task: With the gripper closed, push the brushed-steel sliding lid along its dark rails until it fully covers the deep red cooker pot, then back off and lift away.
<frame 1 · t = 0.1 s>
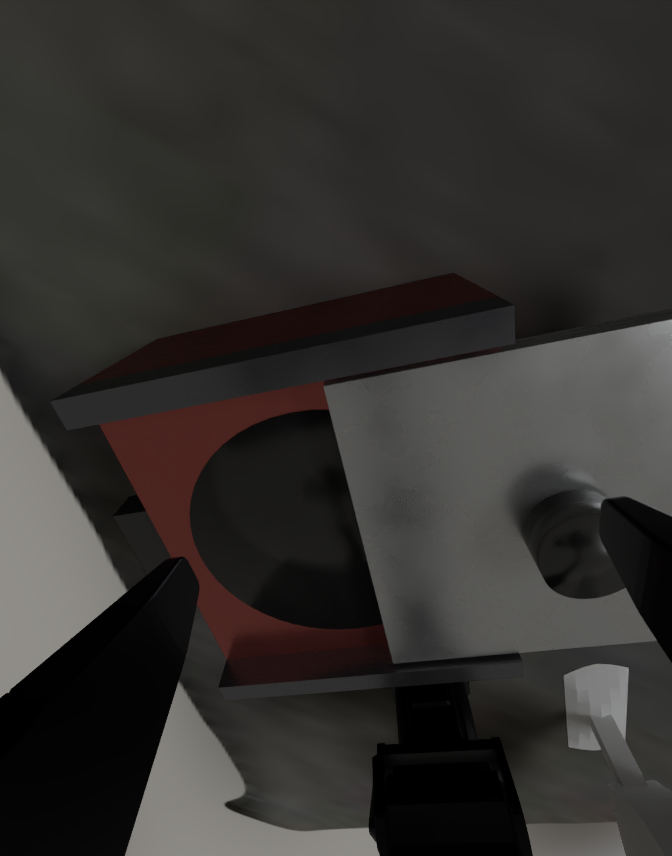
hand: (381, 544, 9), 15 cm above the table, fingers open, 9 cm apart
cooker: (336, 458, 25), on the table
heart sculpture: (594, 708, 36), on the table
lid: (578, 516, 16), point 8 cm above the table, slide at 10.0 cm
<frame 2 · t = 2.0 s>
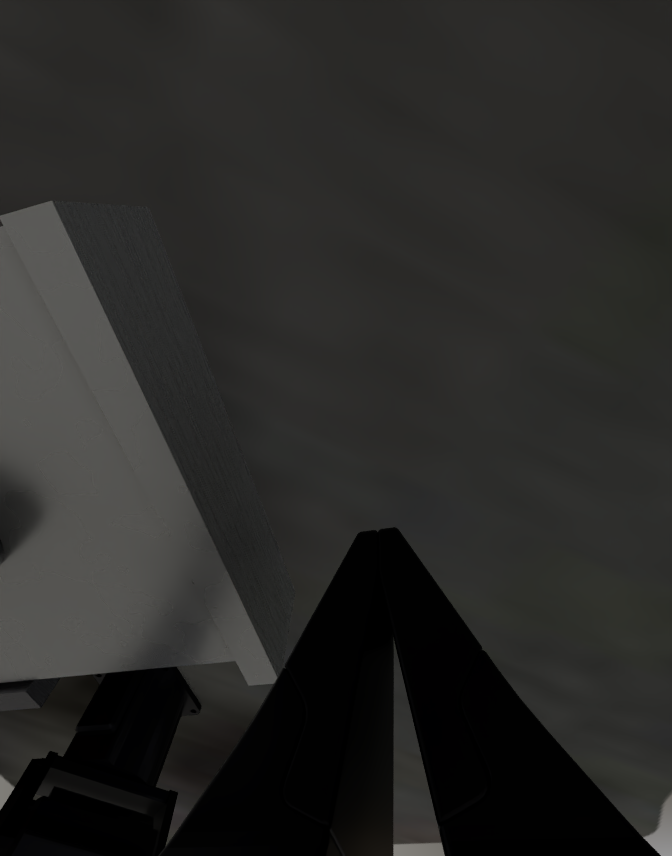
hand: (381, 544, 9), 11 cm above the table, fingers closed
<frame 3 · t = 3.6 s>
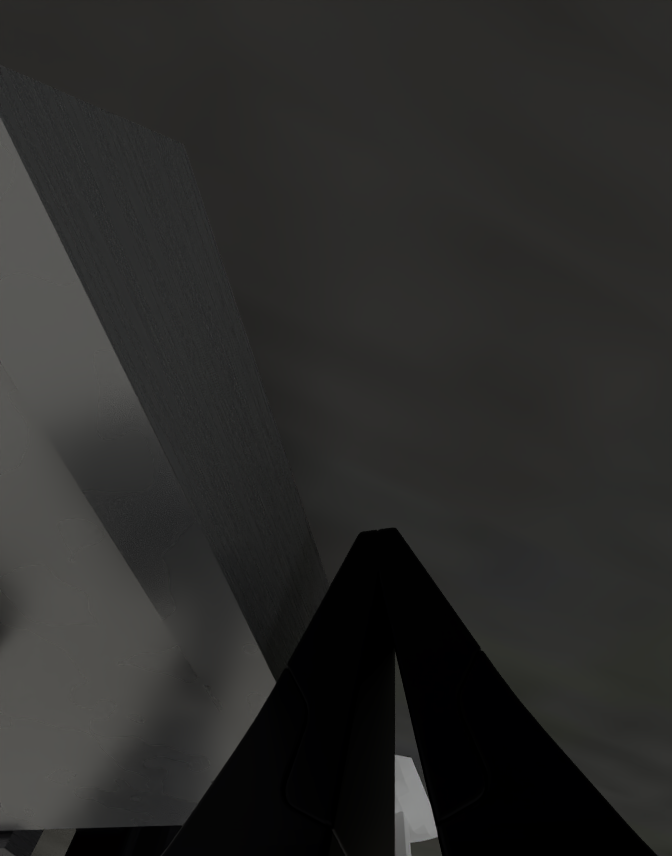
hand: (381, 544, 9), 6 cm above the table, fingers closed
heart sculpture: (392, 798, 28), on the table
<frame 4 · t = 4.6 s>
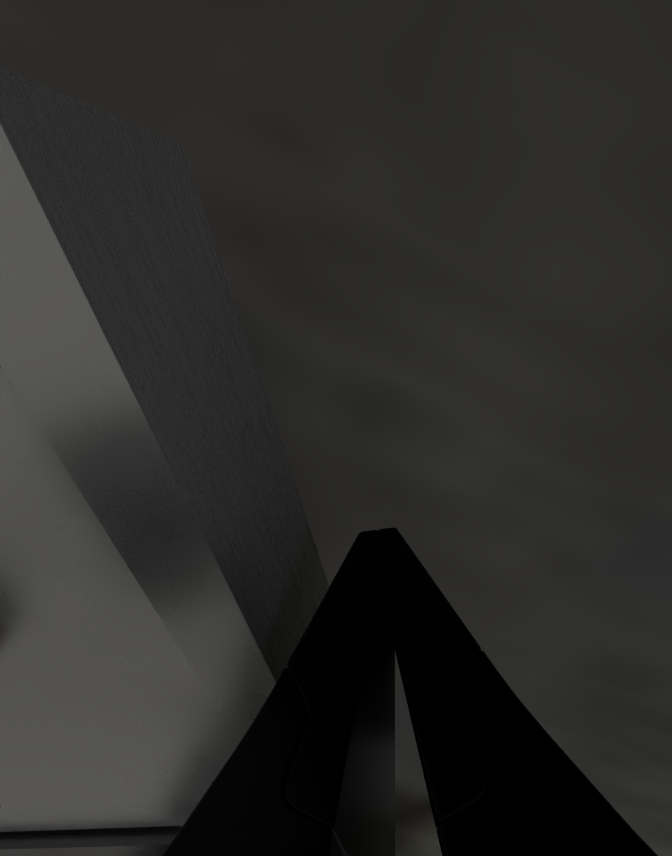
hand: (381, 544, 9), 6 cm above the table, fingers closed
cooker: (5, 481, 17), on the table
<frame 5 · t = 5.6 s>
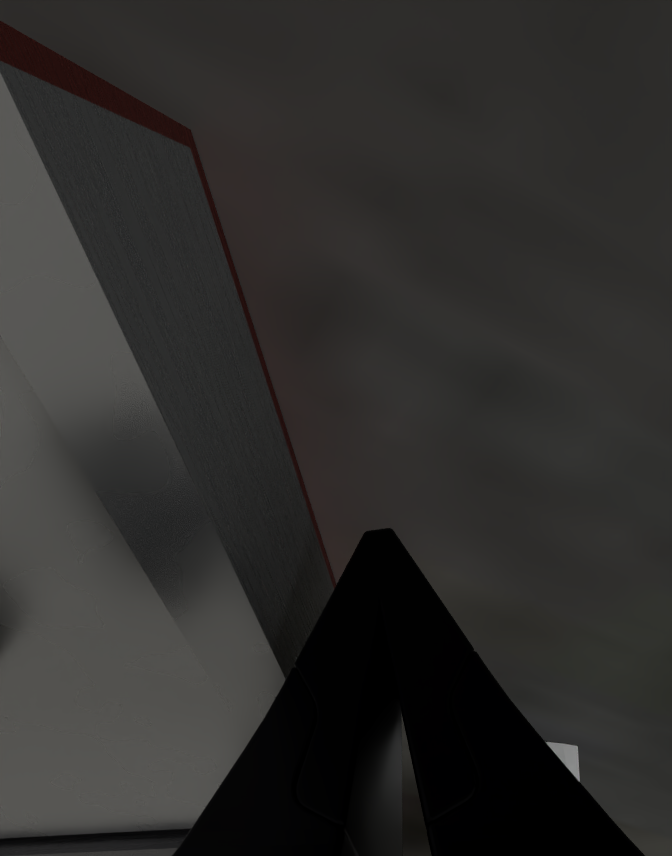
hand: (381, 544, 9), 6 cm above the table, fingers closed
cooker: (94, 467, 16), on the table
heart sculpture: (539, 791, 27), on the table
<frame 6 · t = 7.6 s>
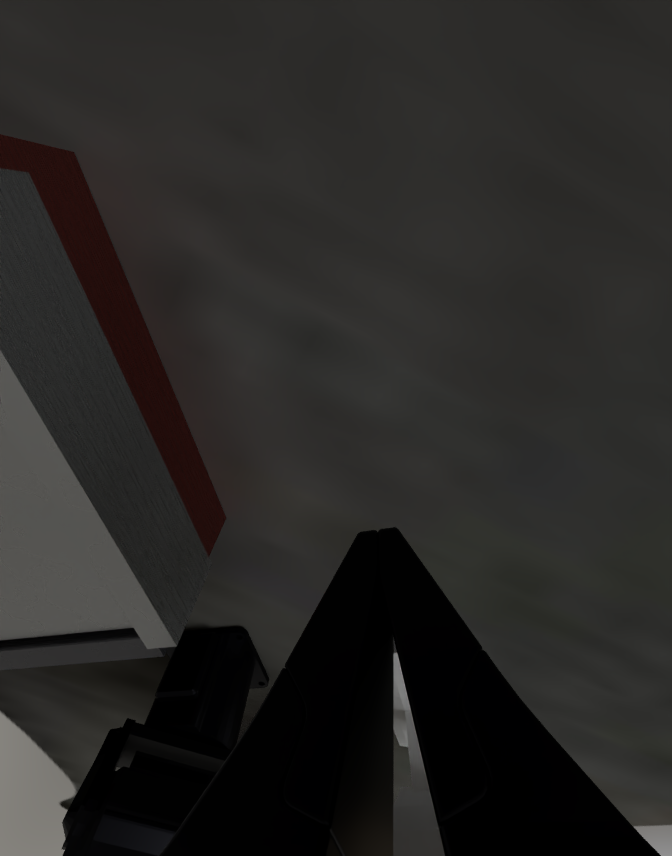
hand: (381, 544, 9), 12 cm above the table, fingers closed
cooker: (25, 399, 21), on the table
heart sculpture: (416, 702, 32), on the table
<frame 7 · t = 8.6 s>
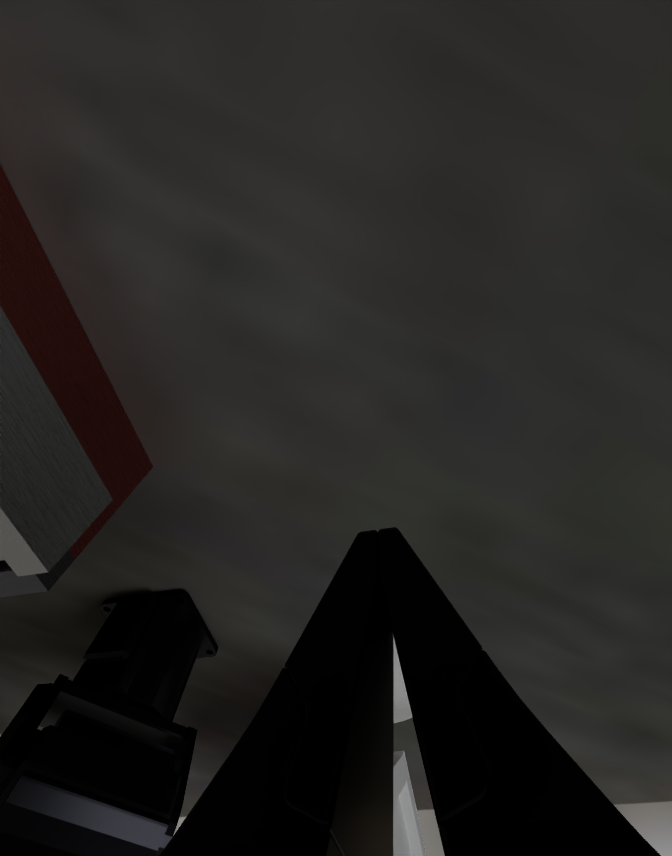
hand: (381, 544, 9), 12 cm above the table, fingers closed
heart sculpture: (374, 671, 31), on the table
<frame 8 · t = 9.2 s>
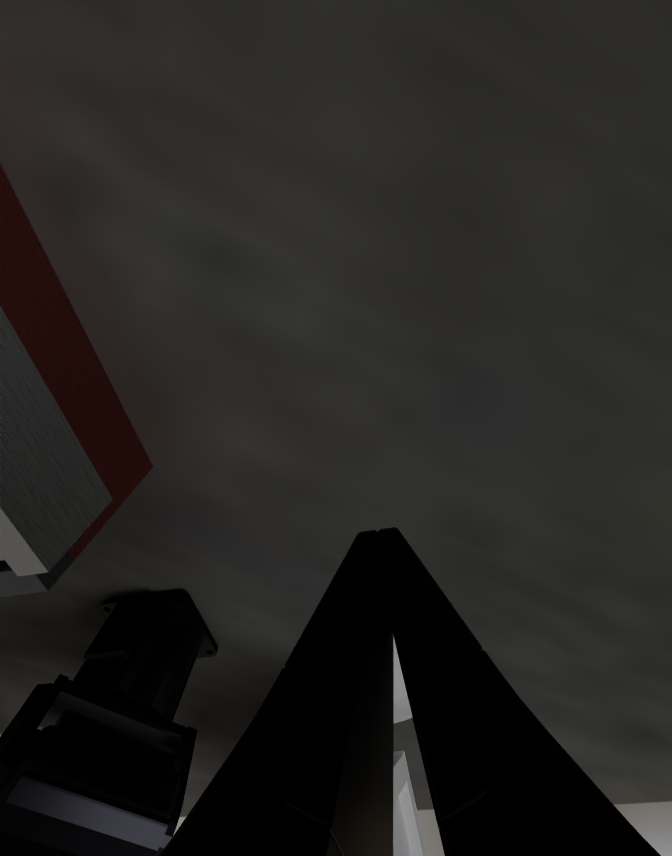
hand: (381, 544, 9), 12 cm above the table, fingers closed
heart sculpture: (374, 671, 31), on the table
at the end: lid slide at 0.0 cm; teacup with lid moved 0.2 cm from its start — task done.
